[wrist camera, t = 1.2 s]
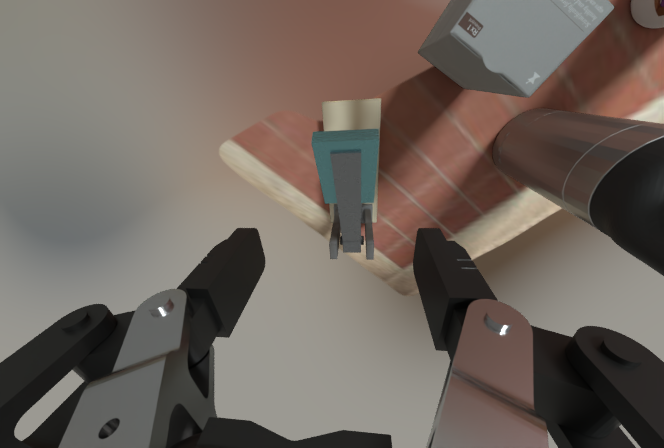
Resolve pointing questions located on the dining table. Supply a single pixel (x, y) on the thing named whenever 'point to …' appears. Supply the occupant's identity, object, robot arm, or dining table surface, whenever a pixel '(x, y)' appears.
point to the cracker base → (368, 117)
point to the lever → (347, 176)
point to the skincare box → (509, 41)
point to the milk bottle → (648, 13)
